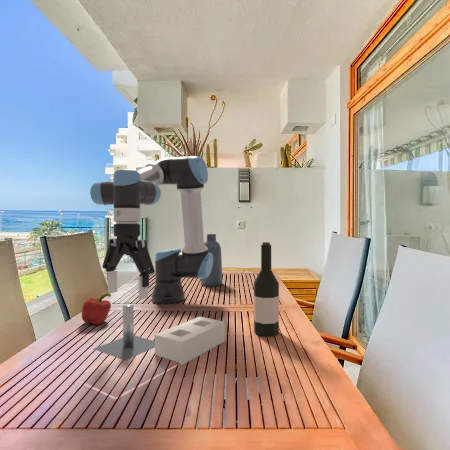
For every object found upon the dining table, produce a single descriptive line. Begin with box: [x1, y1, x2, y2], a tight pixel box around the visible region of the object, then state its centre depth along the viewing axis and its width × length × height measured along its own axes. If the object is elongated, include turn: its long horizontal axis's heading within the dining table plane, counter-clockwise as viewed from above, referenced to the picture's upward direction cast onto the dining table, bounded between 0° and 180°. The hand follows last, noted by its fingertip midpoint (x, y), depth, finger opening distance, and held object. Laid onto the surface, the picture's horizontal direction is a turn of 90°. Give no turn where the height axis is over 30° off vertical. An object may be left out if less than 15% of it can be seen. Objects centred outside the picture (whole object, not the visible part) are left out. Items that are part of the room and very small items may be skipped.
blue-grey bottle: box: [200, 233, 223, 287], centre depth 190 cm, size 12×12×28 cm
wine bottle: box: [253, 241, 280, 338], centre depth 111 cm, size 8×8×30 cm
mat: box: [93, 334, 155, 361], centre depth 99 cm, size 14×14×1 cm
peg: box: [122, 303, 135, 348], centre depth 99 cm, size 3×3×12 cm
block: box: [154, 316, 226, 366], centre depth 98 cm, size 20×10×6 cm, turn 146°
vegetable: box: [81, 293, 112, 326], centre depth 122 cm, size 11×10×10 cm
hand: (127, 295), depth 99 cm, fingers open, 13 cm apart
